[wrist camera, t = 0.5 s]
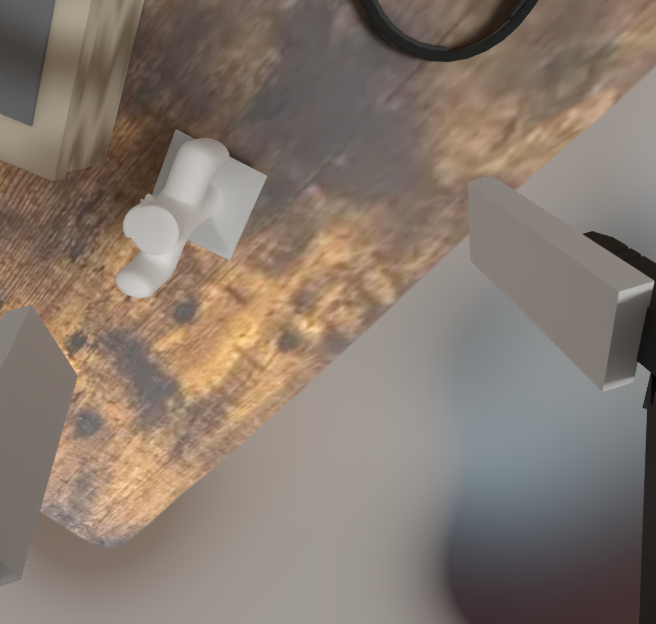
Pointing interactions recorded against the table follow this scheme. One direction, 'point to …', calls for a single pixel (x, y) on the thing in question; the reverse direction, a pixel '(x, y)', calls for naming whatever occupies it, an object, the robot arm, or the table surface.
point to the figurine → (188, 211)
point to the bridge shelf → (62, 80)
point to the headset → (439, 52)
